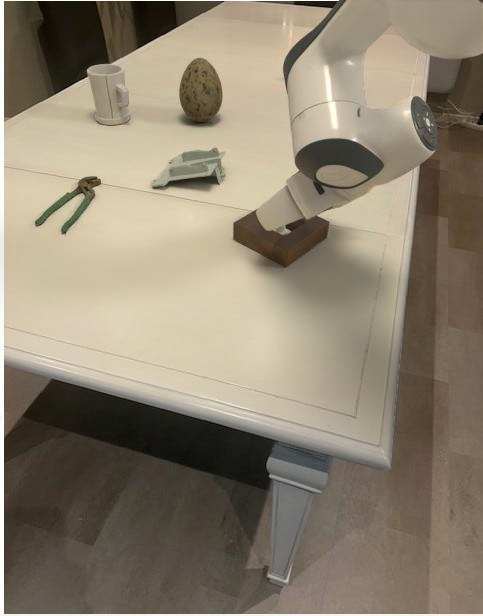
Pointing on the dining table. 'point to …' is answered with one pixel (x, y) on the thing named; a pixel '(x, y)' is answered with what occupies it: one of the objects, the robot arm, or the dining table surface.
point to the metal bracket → (192, 166)
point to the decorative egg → (200, 91)
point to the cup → (109, 93)
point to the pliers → (82, 187)
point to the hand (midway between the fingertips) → (280, 209)
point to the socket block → (281, 237)
